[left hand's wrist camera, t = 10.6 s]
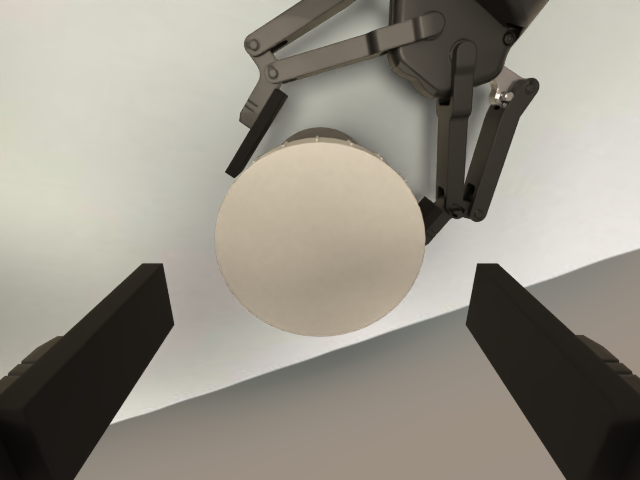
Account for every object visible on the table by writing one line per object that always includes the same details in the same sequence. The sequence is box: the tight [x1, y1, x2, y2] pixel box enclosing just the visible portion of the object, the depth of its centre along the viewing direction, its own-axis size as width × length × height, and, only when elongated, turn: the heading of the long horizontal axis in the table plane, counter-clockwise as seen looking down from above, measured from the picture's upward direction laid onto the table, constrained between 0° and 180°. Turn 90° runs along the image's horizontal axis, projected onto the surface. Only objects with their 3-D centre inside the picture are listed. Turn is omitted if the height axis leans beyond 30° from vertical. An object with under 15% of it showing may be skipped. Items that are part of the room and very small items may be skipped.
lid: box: [215, 136, 425, 337], centre depth 18 cm, size 11×11×2 cm
